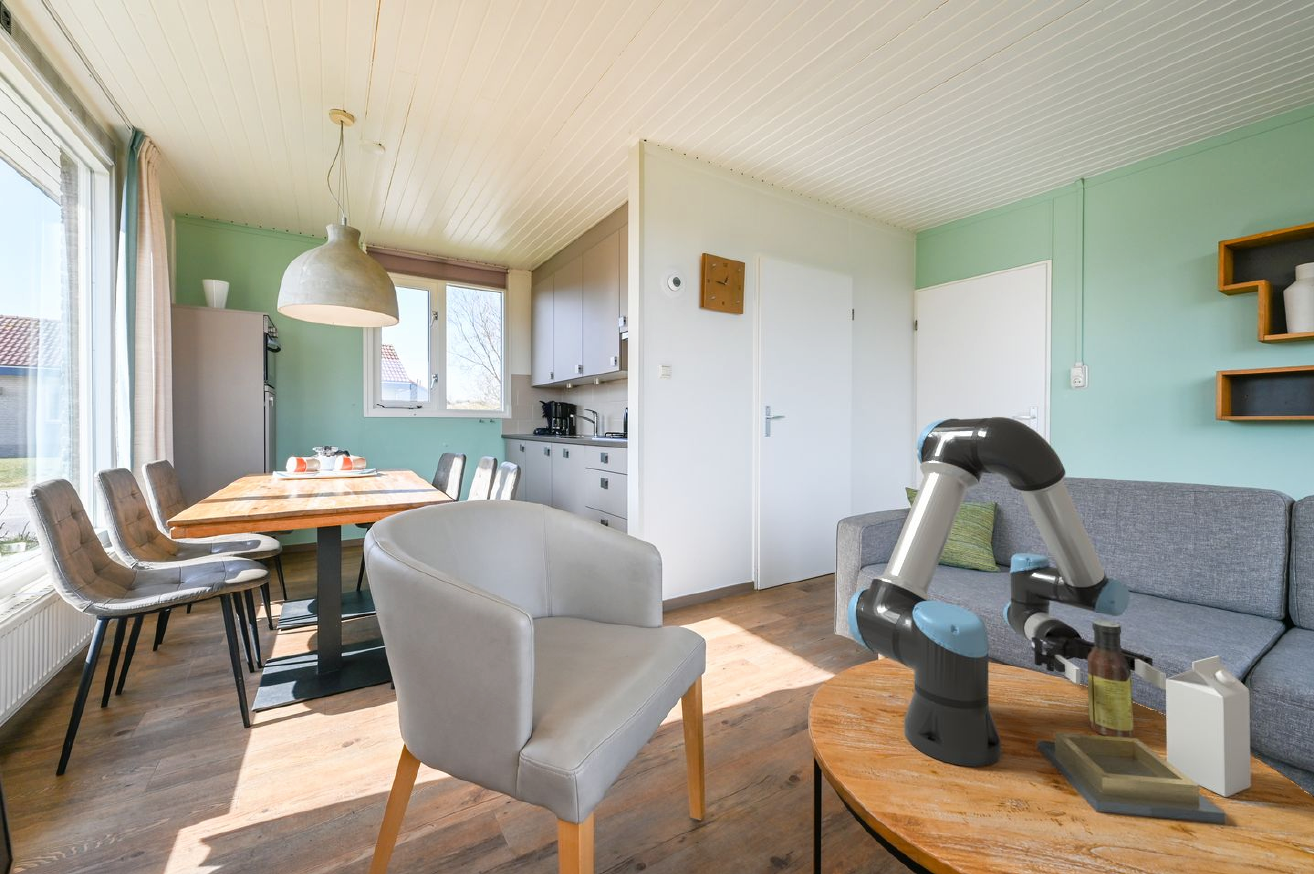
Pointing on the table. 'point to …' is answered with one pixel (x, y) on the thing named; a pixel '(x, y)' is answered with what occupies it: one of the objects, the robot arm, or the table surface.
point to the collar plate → (1127, 778)
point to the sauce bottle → (1109, 683)
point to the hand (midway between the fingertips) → (1120, 679)
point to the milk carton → (1209, 727)
